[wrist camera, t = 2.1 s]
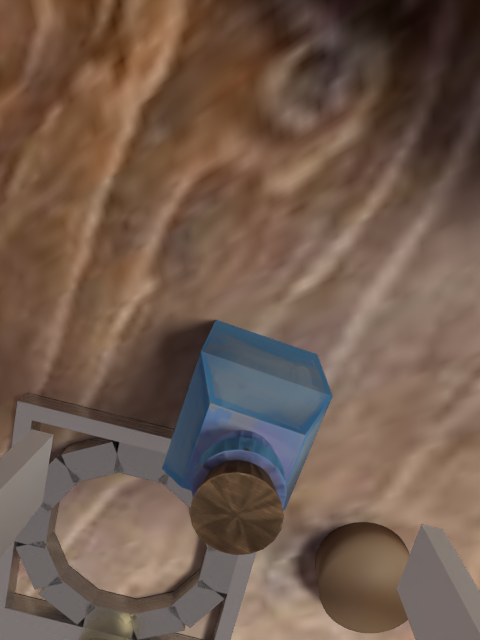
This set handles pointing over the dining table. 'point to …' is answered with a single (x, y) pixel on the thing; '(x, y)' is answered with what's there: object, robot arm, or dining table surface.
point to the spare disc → (362, 577)
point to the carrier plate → (69, 586)
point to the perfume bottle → (245, 435)
